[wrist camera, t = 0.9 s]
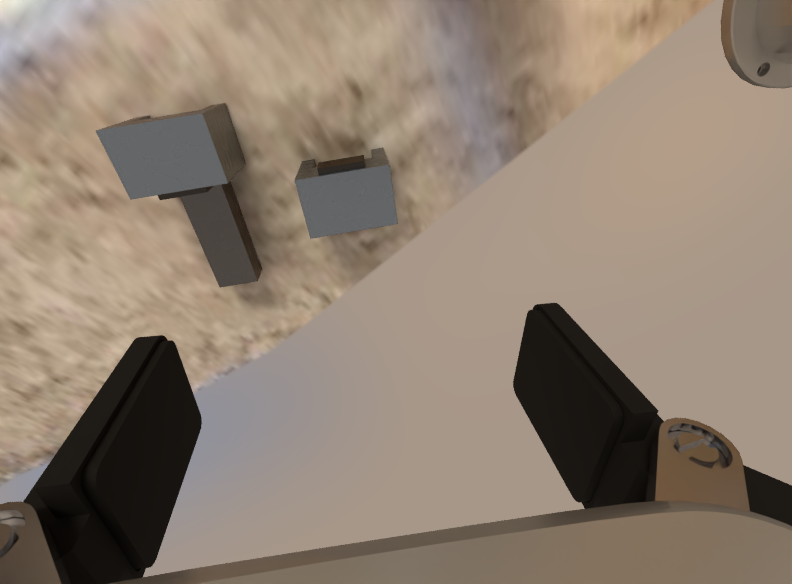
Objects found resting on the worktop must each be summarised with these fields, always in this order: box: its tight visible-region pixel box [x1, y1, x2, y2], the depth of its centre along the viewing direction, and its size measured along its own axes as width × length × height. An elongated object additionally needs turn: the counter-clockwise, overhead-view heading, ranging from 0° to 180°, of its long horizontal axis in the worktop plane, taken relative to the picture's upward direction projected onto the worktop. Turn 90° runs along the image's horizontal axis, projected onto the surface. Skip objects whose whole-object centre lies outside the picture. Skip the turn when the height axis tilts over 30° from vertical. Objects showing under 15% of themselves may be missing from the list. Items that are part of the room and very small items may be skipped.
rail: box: [96, 103, 262, 287], centre depth 28 cm, size 6×12×5 cm, turn 8°
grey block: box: [295, 148, 398, 238], centre depth 28 cm, size 6×4×5 cm
